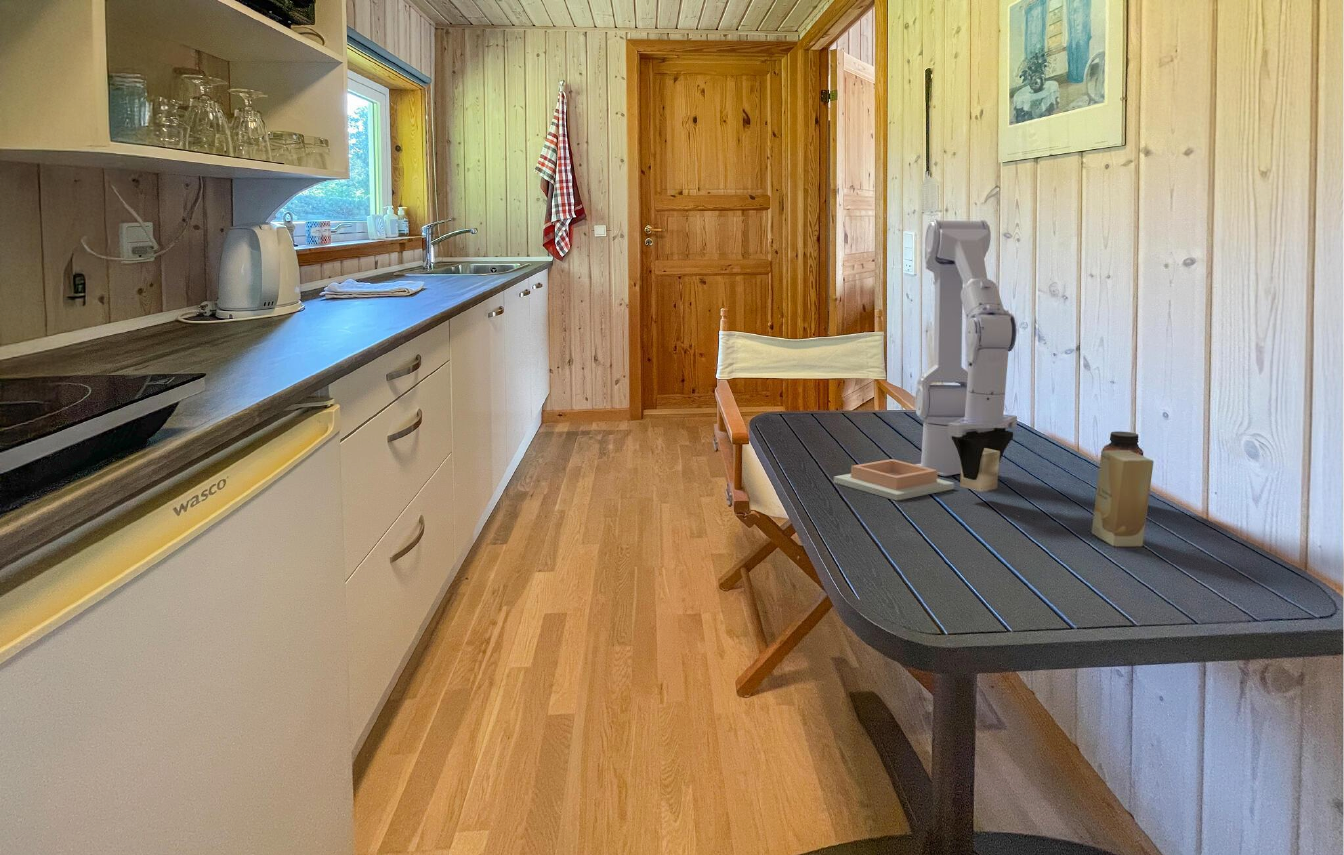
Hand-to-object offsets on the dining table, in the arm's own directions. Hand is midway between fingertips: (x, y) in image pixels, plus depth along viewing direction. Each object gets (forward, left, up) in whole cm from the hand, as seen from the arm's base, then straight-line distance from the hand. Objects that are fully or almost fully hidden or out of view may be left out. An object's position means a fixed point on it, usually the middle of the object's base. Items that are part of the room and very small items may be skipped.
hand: (979, 476), depth 153 cm
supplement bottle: (-18, +13, -4) cm, 23 cm away
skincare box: (+1, +24, -4) cm, 24 cm away
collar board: (+4, -14, -4) cm, 15 cm away
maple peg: (0, 0, -2) cm, 2 cm away
